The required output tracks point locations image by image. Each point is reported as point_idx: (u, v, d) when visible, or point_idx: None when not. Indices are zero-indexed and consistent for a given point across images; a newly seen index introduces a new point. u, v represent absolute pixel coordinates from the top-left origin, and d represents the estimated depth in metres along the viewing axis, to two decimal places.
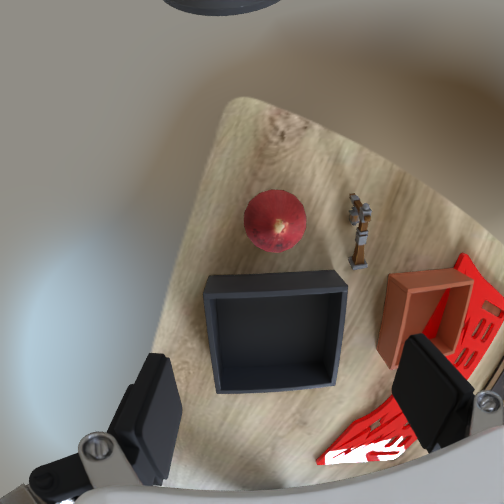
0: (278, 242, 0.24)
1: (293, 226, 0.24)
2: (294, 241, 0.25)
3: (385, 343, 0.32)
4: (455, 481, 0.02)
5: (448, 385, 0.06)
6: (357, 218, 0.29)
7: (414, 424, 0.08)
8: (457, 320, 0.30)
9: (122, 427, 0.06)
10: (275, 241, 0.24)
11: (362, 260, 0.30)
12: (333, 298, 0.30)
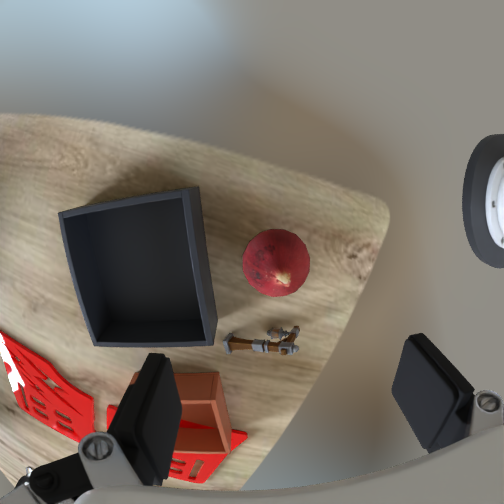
0: (262, 275, 0.22)
1: (280, 289, 0.22)
2: (261, 289, 0.23)
3: None
4: (455, 481, 0.02)
5: (448, 385, 0.06)
6: (275, 337, 0.30)
7: (414, 424, 0.08)
8: (185, 446, 0.31)
9: (122, 427, 0.06)
10: (264, 272, 0.22)
11: (233, 348, 0.29)
12: (190, 327, 0.28)
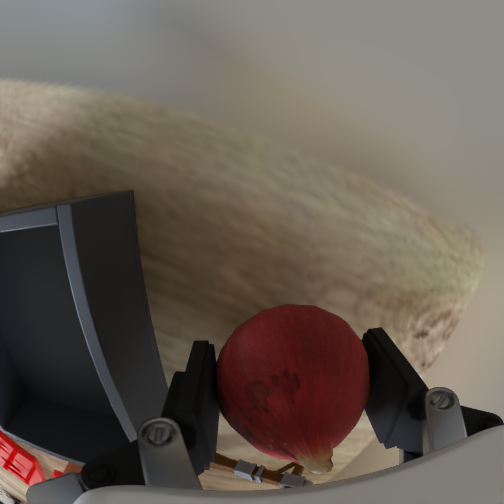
0: (260, 441, 0.07)
1: None
2: None
3: None
4: (455, 481, 0.02)
5: (398, 379, 0.07)
6: None
7: (372, 418, 0.09)
8: None
9: (183, 409, 0.07)
10: (265, 439, 0.07)
11: None
12: None
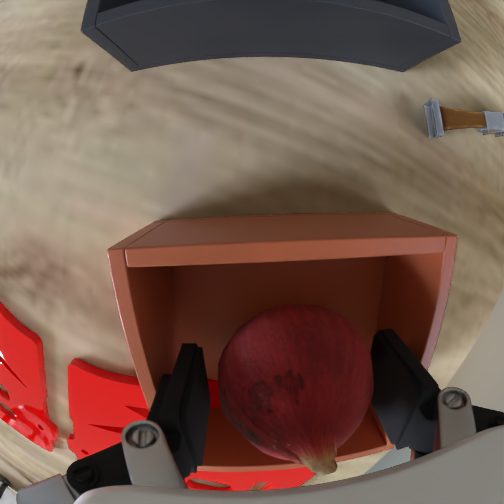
0: (264, 442, 0.07)
1: None
2: None
3: (198, 226, 0.10)
4: (455, 481, 0.02)
5: (411, 380, 0.07)
6: (494, 130, 0.10)
7: (383, 419, 0.09)
8: None
9: (167, 413, 0.06)
10: (268, 440, 0.07)
11: (449, 124, 0.10)
12: None
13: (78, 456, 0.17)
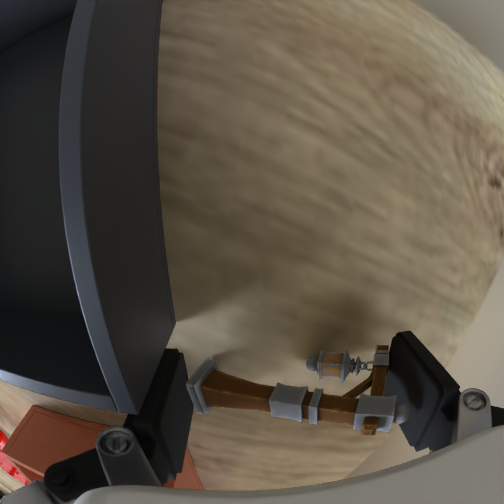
0: None
1: None
2: None
3: (42, 434, 0.10)
4: (455, 481, 0.02)
5: (433, 382, 0.07)
6: (330, 374, 0.10)
7: None
8: None
9: (140, 421, 0.06)
10: None
11: (216, 403, 0.10)
12: None
13: None
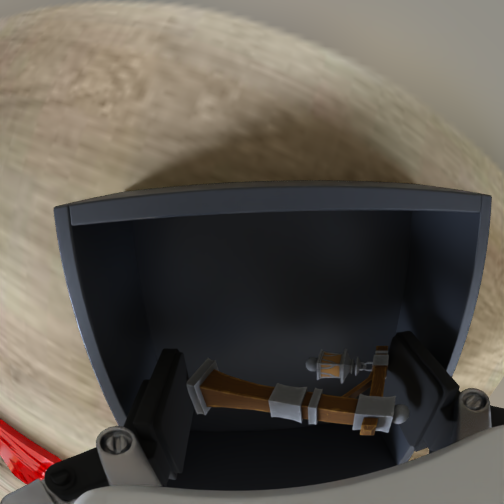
0: None
1: None
2: None
3: None
4: (455, 481, 0.02)
5: (433, 382, 0.07)
6: (329, 375, 0.10)
7: None
8: None
9: (141, 420, 0.06)
10: None
11: (216, 403, 0.10)
12: (351, 440, 0.13)
13: None
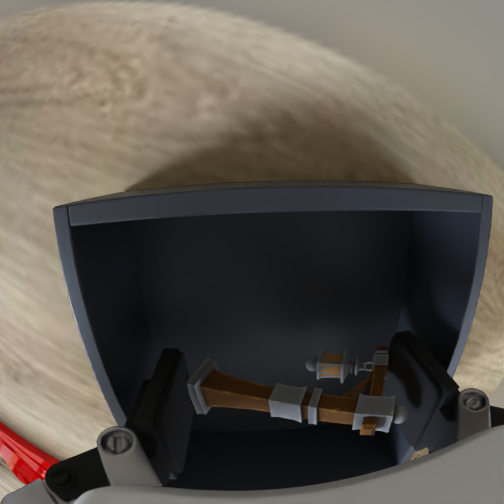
0: None
1: None
2: None
3: None
4: (455, 481, 0.02)
5: (432, 382, 0.07)
6: (329, 374, 0.10)
7: None
8: None
9: (142, 420, 0.06)
10: None
11: (216, 403, 0.10)
12: (351, 441, 0.13)
13: None
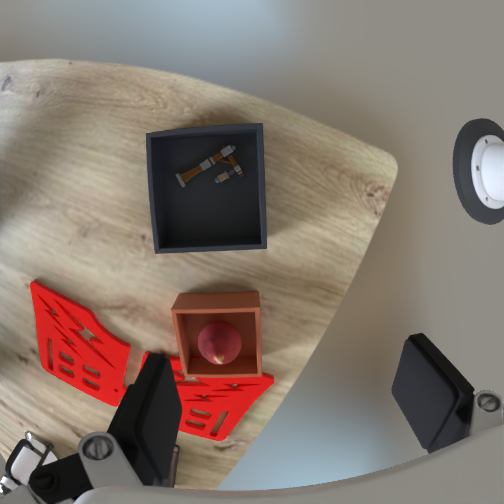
0: (207, 355, 0.34)
1: (218, 363, 0.34)
2: (208, 360, 0.35)
3: (192, 299, 0.37)
4: (455, 481, 0.02)
5: (448, 385, 0.06)
6: (221, 174, 0.34)
7: (414, 424, 0.08)
8: (218, 370, 0.38)
9: (122, 427, 0.06)
10: (208, 353, 0.34)
11: None
12: (244, 239, 0.35)
13: None
